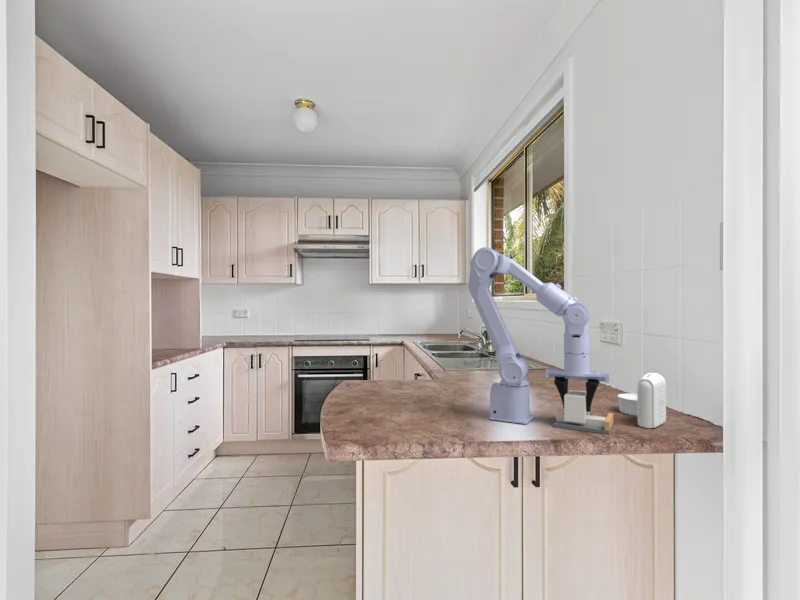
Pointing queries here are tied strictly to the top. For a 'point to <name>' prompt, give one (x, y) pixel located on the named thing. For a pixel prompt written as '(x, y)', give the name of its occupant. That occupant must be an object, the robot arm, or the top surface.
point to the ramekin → (628, 403)
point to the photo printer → (651, 400)
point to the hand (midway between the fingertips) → (577, 409)
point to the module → (575, 406)
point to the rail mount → (587, 423)
